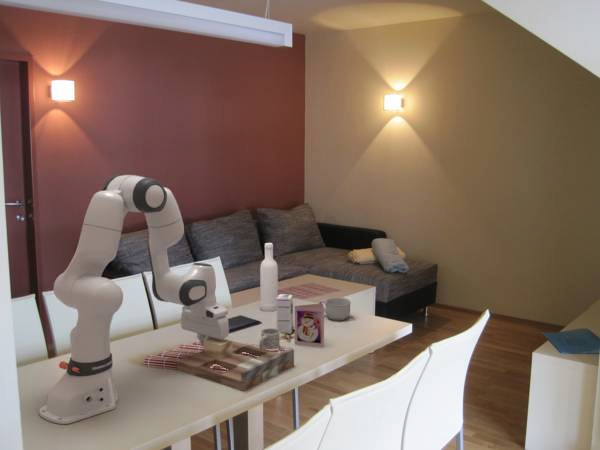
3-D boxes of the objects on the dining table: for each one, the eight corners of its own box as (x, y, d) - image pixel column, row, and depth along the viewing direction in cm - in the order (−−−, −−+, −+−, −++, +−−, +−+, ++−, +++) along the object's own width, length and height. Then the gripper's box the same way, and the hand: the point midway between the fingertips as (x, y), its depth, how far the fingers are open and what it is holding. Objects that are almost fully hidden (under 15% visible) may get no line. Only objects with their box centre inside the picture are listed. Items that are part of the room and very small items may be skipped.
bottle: (270, 305, 290) (270, 241, 285) (281, 309, 284) (281, 243, 279) (256, 308, 285) (256, 243, 280) (267, 312, 279) (267, 245, 274)
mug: (268, 344, 239) (267, 327, 238) (282, 347, 236) (282, 330, 235) (252, 352, 231) (252, 334, 230) (267, 355, 227) (267, 338, 226)
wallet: (226, 331, 250) (203, 322, 261) (226, 336, 250) (203, 327, 261) (264, 320, 264) (240, 312, 275) (264, 324, 264) (241, 317, 275)
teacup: (354, 317, 272) (355, 299, 271) (342, 324, 263) (343, 305, 262) (326, 312, 280) (326, 294, 278) (314, 318, 271) (314, 300, 269)
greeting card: (293, 345, 238) (293, 306, 236) (299, 338, 245) (299, 301, 243) (323, 348, 235) (323, 309, 232) (328, 341, 242) (328, 303, 239)
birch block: (221, 359, 216) (220, 345, 215) (203, 354, 220) (203, 340, 219) (232, 354, 220) (232, 340, 220) (215, 349, 225) (215, 335, 224)
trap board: (244, 391, 197) (244, 373, 196) (177, 369, 214) (176, 352, 213) (293, 365, 218) (293, 349, 217) (228, 347, 235) (228, 332, 234)
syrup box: (291, 333, 251) (291, 298, 249) (276, 332, 252) (276, 297, 250) (293, 328, 257) (293, 294, 255) (279, 328, 258) (279, 293, 256)
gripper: (176, 305, 225) (177, 342, 227) (218, 315, 213) (219, 354, 216) (188, 301, 230) (189, 337, 232) (231, 310, 218) (232, 349, 221)
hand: (204, 345), depth 224 cm, fingers closed
